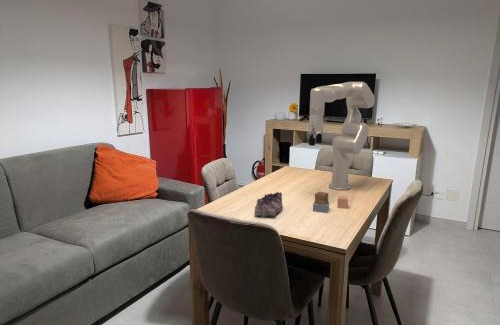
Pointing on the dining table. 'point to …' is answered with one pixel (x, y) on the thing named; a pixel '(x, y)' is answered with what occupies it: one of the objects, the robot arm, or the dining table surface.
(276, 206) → the geode
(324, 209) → the blue-grey square box
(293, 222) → the dining table surface
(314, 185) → the dining table surface
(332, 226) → the dining table surface
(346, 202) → the terracotta cube
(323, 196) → the walnut cube
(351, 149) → the robot arm
